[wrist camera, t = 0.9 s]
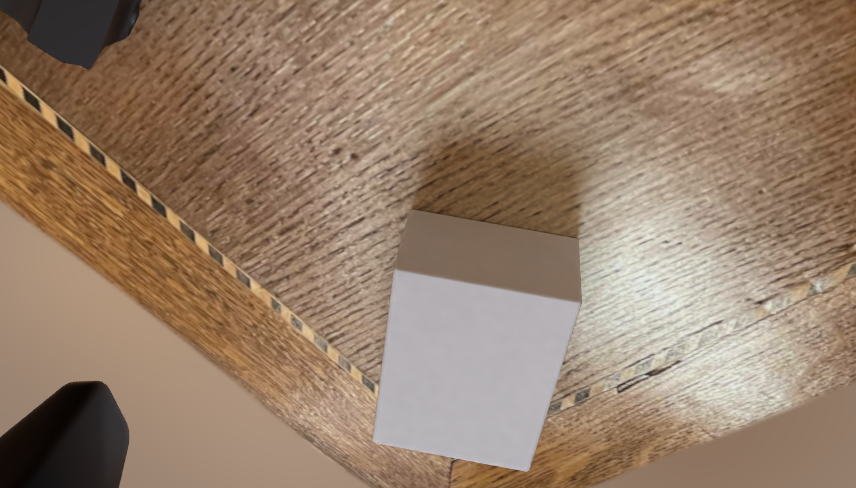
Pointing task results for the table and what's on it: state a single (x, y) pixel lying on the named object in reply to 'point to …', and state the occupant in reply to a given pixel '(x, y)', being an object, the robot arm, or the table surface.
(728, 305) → the table surface
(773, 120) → the table surface
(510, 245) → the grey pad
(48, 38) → the dark sector wedge
